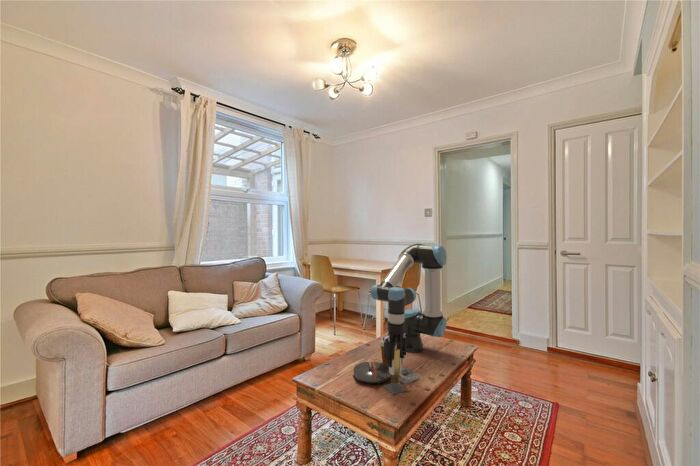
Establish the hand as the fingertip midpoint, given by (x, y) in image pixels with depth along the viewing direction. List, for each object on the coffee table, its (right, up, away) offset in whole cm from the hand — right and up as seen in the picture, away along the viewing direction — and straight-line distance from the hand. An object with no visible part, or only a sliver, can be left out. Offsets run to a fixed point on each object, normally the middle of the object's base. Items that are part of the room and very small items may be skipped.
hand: (395, 372), depth 137 cm
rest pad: (0, -8, 0) cm, 8 cm away
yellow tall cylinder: (0, -4, 0) cm, 4 cm away
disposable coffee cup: (0, -7, +26) cm, 27 cm away
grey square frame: (+7, -7, +10) cm, 14 cm away
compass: (-10, -6, +10) cm, 16 cm away
